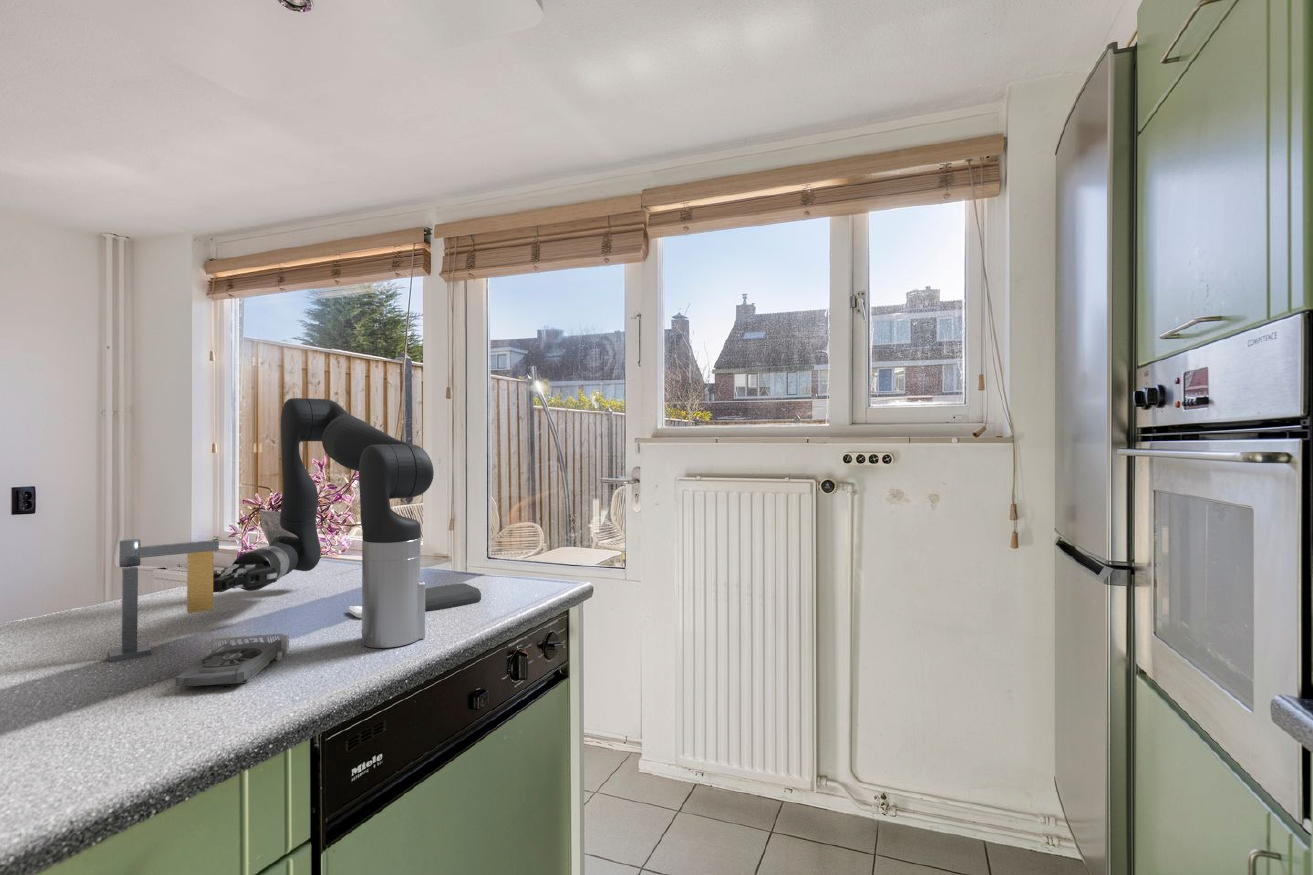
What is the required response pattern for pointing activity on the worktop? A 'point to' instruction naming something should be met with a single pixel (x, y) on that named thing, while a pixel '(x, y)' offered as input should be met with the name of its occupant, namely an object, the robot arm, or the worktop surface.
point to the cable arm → (196, 566)
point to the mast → (129, 620)
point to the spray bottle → (441, 597)
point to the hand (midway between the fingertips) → (217, 586)
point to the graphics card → (234, 660)
